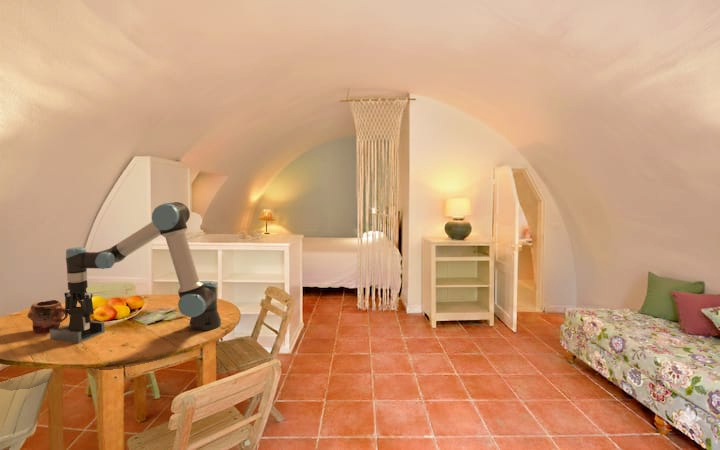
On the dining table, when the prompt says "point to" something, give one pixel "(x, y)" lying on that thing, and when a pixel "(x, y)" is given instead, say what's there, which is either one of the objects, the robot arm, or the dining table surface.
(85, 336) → the bracket
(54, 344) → the dining table surface
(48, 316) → the brown clay mug
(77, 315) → the door stopper
